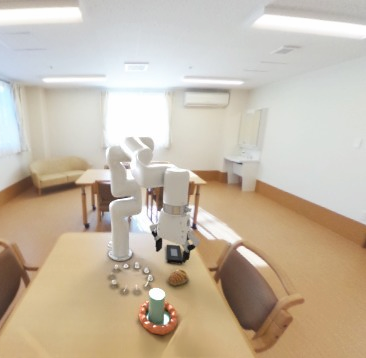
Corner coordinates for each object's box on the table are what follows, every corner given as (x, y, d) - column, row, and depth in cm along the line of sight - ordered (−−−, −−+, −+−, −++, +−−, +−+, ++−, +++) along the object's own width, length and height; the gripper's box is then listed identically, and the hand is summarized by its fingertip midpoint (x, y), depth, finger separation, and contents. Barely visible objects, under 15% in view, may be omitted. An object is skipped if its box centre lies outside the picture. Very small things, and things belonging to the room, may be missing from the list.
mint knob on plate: (138, 321, 75) (139, 295, 73) (151, 305, 82) (152, 281, 80) (161, 336, 70) (162, 308, 67) (172, 317, 77) (174, 291, 74)
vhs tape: (167, 262, 109) (167, 259, 108) (166, 247, 122) (166, 244, 122) (182, 264, 108) (182, 260, 107) (179, 248, 121) (179, 245, 121)
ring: (131, 320, 74) (131, 315, 74) (151, 297, 85) (152, 292, 84) (165, 344, 66) (166, 338, 66) (183, 315, 77) (184, 309, 76)
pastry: (176, 289, 90) (176, 282, 89) (164, 281, 95) (164, 274, 95) (189, 280, 96) (189, 273, 95) (177, 272, 101) (177, 265, 100)
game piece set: (115, 299, 85) (114, 291, 84) (106, 268, 104) (106, 261, 103) (159, 289, 90) (159, 282, 89) (143, 262, 109) (143, 255, 108)
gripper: (206, 210, 64) (201, 259, 68) (156, 198, 74) (154, 242, 79) (197, 218, 58) (192, 271, 63) (145, 204, 69) (143, 251, 73)
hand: (171, 255), depth 71 cm, fingers open, 9 cm apart
